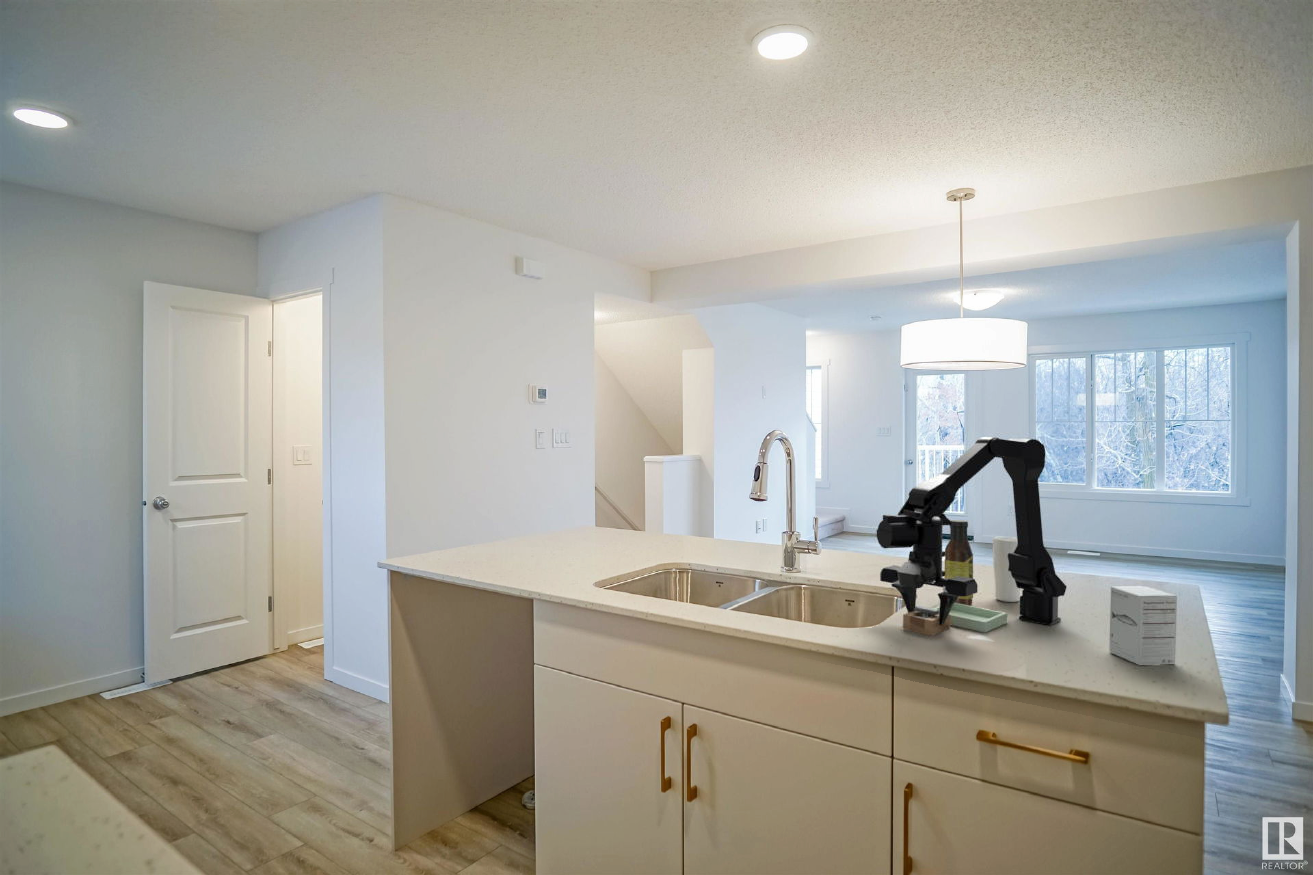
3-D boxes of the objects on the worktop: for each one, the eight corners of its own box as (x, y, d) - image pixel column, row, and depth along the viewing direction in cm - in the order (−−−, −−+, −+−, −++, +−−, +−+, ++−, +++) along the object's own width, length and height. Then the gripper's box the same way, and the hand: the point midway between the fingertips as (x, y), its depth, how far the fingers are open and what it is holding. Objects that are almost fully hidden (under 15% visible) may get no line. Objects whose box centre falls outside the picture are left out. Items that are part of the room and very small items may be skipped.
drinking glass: (993, 601, 168) (993, 539, 168) (991, 595, 174) (991, 535, 174) (1024, 604, 165) (1025, 541, 165) (1021, 598, 172) (1022, 537, 171)
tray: (1007, 622, 150) (1007, 612, 150) (984, 632, 143) (985, 622, 143) (950, 610, 159) (950, 601, 159) (927, 619, 152) (927, 609, 152)
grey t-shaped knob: (939, 630, 144) (939, 609, 144) (934, 631, 143) (934, 611, 143) (918, 625, 148) (918, 605, 148) (913, 626, 146) (913, 607, 146)
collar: (921, 621, 150) (921, 608, 150) (949, 628, 146) (949, 613, 146) (903, 628, 145) (903, 614, 145) (931, 635, 140) (931, 620, 140)
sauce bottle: (975, 608, 162) (977, 523, 161) (947, 606, 163) (948, 522, 163) (969, 601, 168) (970, 519, 168) (941, 599, 169) (942, 518, 169)
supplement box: (1107, 652, 130) (1108, 585, 130) (1144, 651, 131) (1146, 585, 131) (1138, 666, 123) (1139, 595, 123) (1177, 665, 124) (1178, 594, 123)
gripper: (866, 544, 147) (865, 618, 147) (953, 557, 133) (952, 639, 133) (894, 539, 154) (893, 609, 154) (979, 551, 140) (978, 628, 140)
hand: (926, 621), depth 145 cm, fingers closed on collar, 6 cm apart
